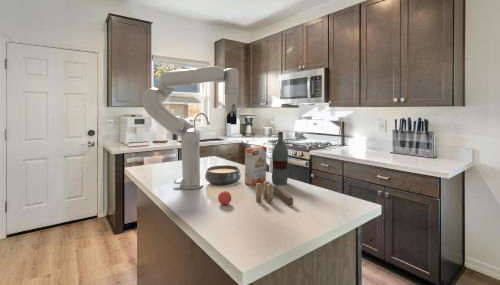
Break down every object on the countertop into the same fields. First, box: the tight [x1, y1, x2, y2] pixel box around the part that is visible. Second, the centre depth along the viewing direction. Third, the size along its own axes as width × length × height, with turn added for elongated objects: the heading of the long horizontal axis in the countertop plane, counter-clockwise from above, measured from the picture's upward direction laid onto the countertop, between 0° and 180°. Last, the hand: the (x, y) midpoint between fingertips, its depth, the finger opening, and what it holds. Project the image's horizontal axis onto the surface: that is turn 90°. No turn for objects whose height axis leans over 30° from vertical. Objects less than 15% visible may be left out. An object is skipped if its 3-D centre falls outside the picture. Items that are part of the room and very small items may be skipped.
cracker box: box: [244, 145, 268, 186], centre depth 165 cm, size 14×6×21 cm, turn 143°
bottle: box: [271, 131, 289, 186], centre depth 163 cm, size 9×9×30 cm
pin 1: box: [263, 180, 270, 201], centre depth 136 cm, size 2×2×8 cm
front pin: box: [255, 182, 262, 203], centre depth 132 cm, size 2×2×8 cm
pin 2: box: [266, 183, 273, 204], centre depth 131 cm, size 2×2×8 cm
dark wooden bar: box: [273, 185, 294, 207], centre depth 135 cm, size 2×20×4 cm, turn 14°
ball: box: [217, 190, 232, 205], centre depth 128 cm, size 6×6×6 cm
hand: (231, 123), depth 155 cm, fingers open, 9 cm apart
